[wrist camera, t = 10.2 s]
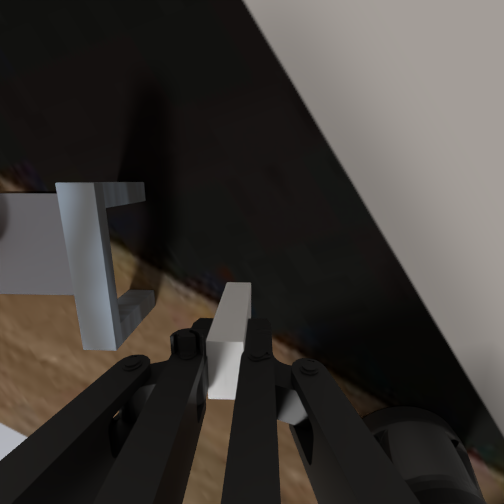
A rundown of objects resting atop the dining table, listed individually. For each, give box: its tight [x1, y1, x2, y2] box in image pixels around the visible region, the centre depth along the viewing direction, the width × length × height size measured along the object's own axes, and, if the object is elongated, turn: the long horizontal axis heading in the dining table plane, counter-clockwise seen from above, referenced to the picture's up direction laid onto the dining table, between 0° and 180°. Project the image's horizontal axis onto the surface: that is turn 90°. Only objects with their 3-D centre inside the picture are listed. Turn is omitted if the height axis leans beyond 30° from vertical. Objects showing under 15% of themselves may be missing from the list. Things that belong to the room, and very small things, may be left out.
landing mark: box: [0, 193, 74, 295], centre depth 32 cm, size 12×12×1 cm
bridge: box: [55, 182, 155, 351], centre depth 28 cm, size 3×14×9 cm, turn 0°
